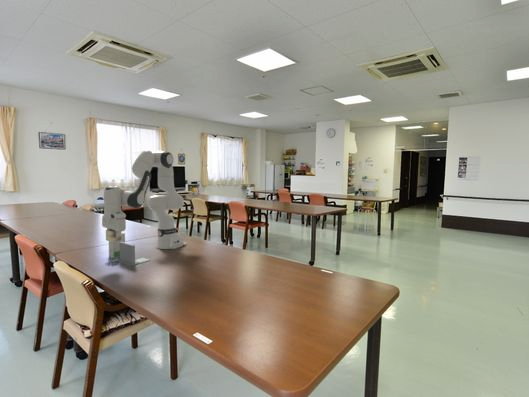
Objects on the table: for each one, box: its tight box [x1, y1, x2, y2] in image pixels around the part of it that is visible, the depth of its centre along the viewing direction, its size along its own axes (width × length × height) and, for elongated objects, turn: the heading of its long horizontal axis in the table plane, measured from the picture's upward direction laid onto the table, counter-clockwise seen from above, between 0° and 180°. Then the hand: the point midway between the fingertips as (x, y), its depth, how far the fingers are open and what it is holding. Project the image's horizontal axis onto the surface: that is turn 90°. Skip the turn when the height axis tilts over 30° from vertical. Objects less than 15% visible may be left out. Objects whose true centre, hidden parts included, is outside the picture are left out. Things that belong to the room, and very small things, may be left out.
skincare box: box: [108, 232, 126, 259], centre depth 190 cm, size 8×7×16 cm
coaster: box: [135, 257, 150, 264], centre depth 182 cm, size 7×7×1 cm
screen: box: [116, 241, 139, 267], centre depth 178 cm, size 5×15×12 cm, turn 56°
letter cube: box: [105, 229, 122, 242], centre depth 170 cm, size 6×6×6 cm
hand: (113, 236), depth 171 cm, fingers closed on letter cube, 6 cm apart
